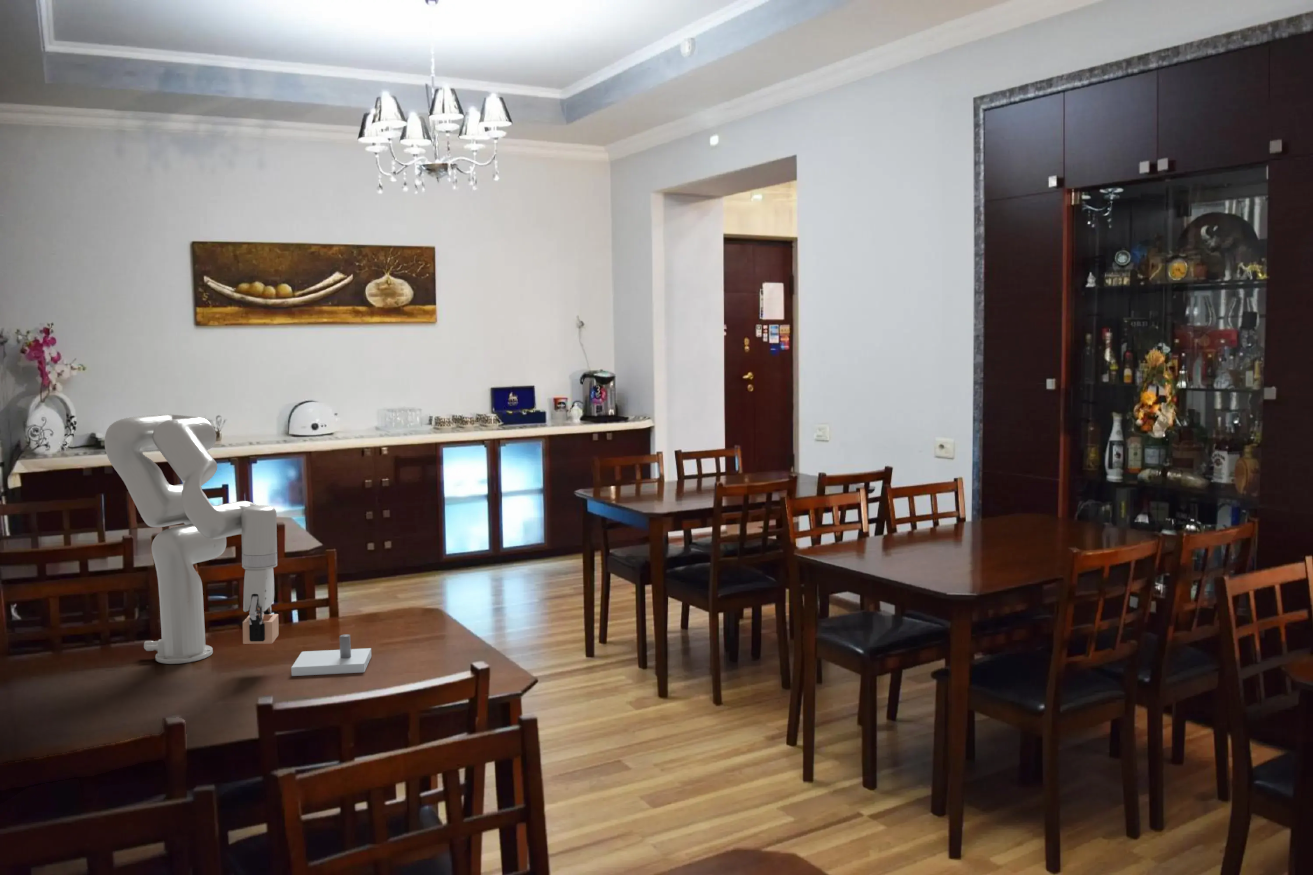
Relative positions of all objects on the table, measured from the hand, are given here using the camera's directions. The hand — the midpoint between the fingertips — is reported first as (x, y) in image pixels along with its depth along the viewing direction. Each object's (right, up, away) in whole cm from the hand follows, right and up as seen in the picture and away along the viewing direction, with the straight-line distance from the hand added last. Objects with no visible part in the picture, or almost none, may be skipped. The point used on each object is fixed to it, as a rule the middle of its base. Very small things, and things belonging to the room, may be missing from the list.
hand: (261, 635), depth 239 cm
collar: (0, -1, 0) cm, 1 cm away
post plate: (+16, -8, +2) cm, 18 cm away
